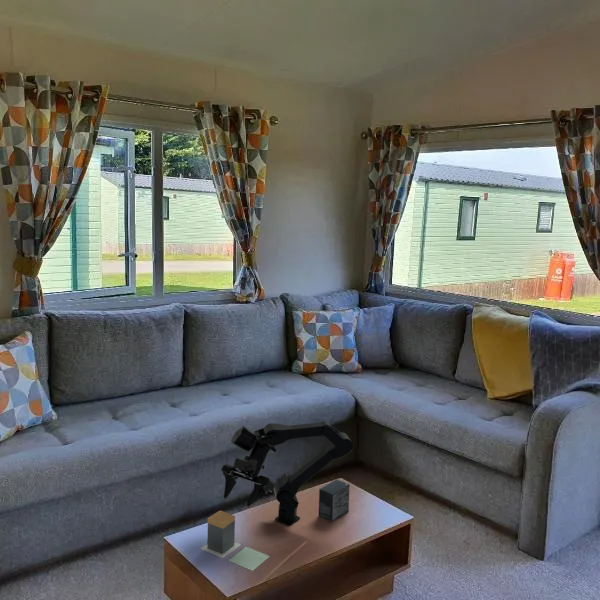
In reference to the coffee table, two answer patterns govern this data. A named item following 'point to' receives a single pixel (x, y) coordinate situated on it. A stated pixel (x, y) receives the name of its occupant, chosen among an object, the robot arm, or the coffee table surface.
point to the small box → (334, 500)
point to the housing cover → (221, 519)
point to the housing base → (221, 537)
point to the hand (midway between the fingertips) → (235, 502)
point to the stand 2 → (249, 558)
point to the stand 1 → (219, 553)
